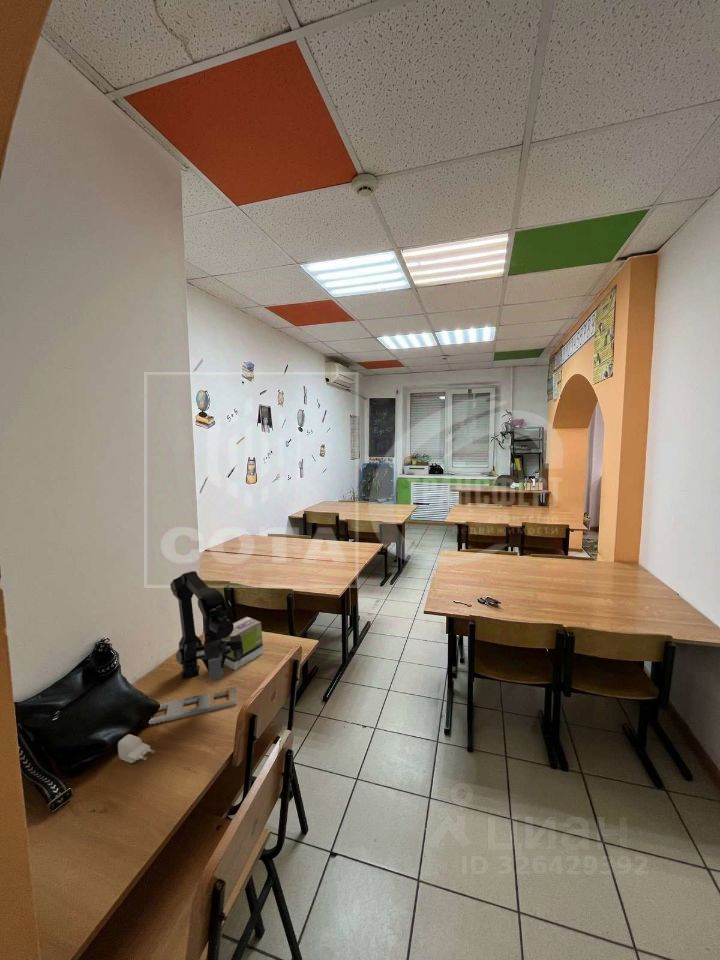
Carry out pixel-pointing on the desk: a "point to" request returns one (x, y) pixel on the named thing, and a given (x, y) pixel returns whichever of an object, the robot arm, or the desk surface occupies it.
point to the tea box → (245, 643)
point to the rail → (204, 706)
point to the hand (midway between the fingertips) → (215, 669)
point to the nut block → (215, 668)
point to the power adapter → (132, 748)
